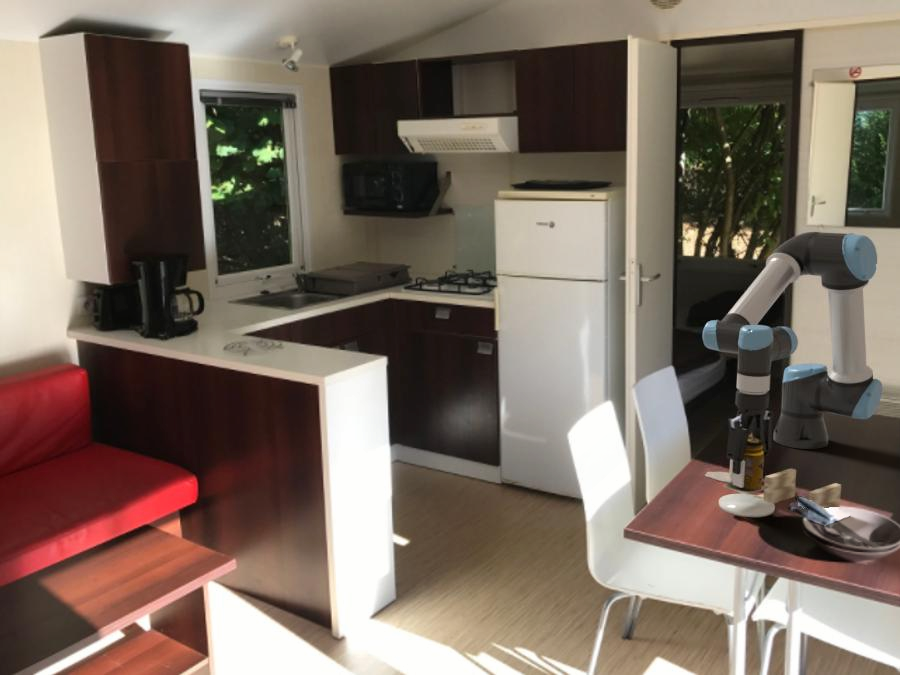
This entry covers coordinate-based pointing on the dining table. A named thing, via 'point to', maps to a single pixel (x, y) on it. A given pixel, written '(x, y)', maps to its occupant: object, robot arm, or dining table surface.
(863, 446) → the dining table surface
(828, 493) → the rack
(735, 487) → the condiment
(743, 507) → the coaster
